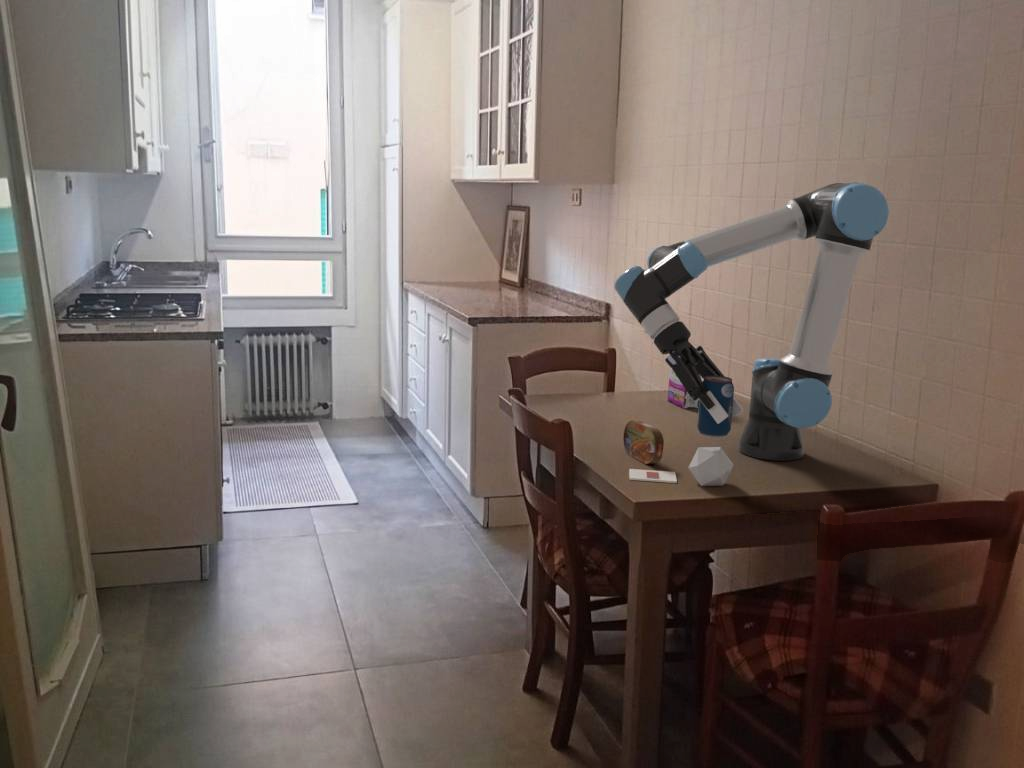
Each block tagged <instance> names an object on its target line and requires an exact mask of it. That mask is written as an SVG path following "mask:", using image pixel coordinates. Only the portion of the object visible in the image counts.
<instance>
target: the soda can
mask: <svg viewBox="0 0 1024 768" xmlns="http://www.w3.org/2000/svg"><path fill="white" fill-rule="evenodd" d="M724 376H725V375H724ZM724 376H705V377H704V379H703V381H702V382H703V384H704V386H705V388H706V390H707V392H708V391H711V393H712V394H713V396H714V397H715V398H716V400H717V401H718V402H719V404H720V405H721V406H722V408H723V409H724V410H725V412H726V413H727V414H728V417H727V418H726V419H724V420H723V421H722V422H721V423H719V424H717V422H716V421H715V420H714V418H713V417H712V416H711V414H710V413H709V411H708V410H707V409H706V407H705V406H704V405H703V403H702V402H701V401H700V399H699V408H698V413H697V422H696V423H697V424H696V427H697V430H698V431H699V434H701V435H702V436H706V437H709V438H710V437H711V438H724V437H726V436H728V434H729V433H730V432H731V429H732V428H731V427H732V419H733V417H732V408H733V397H734V398H735V395H734V394H735V385H734V383H733V379H732V378H731V377H727V376H725V377H724ZM707 392H706V393H707Z"/></svg>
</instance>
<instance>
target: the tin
mask: <svg viewBox="0 0 1024 768" xmlns="http://www.w3.org/2000/svg"><path fill="white" fill-rule="evenodd" d="M622 438H623V447H624V449H625V452H626V454H627V455H628V456H630V457H631V458H633V459H635V460H636V461H639V462H641V463H642V464H644V465H649V464H650V465H653V464H654V465H655V464H657V463H659V462H661V459H662V458H663V452H664V445H665V441H664V437H663V434H662V432H661V430H660V429H658V428H657V427H654V426H652V425H650V424H648V423H646V422H644V421H642V420H641V421H640V420H629V421H628V422H627V423H626V425H625V427H624V430H623V437H622Z"/></svg>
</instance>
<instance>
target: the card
mask: <svg viewBox="0 0 1024 768" xmlns="http://www.w3.org/2000/svg"><path fill="white" fill-rule="evenodd" d="M628 475H629V477H628V478H629V479H628V480H629V481H640V482H653V483H654V482H657V483H670V484H678V483H677V482H678V480H677V475H676V471H668V470H667V471H666V470H655V469H654V470H652V469H639V468H638V469H636V468H629V473H628Z"/></svg>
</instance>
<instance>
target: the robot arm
mask: <svg viewBox="0 0 1024 768" xmlns="http://www.w3.org/2000/svg"><path fill="white" fill-rule="evenodd" d="M888 219H889V204H888V201H887V200H886V198H885V196H884V194H883V193H882V192H881V191H880V190H879V189H878V188H876V187H874V186H872V185H871V184H868V183H862V182H848V183H847V182H846V183H843V182H835V183H831V184H827V185H824V186H823V187H820V188H816V189H815V190H813V191H811V192H808V193H806V194H803V195H801V196H797V197H795V198H791V199H789V200H788V201H787V204H786V205H785V206H781V207H780V208H777V209H774V210H772V211H768V212H765V213H762V214H759V215H756V216H754V217H753V216H752V217H750V218H747V219H743V220H742V221H738V222H735V223H733V224H729V225H727V226H723V227H721V228H717V229H714V230H712V231H709V232H705V233H703V234H699V235H697V236H694V237H691V238H688V239H685V240H683V241H679V242H676V243H673V244H670V245H661V246H658V247H656V248H654V249H653V250H652V251H651V252H650V253H649V255H648V257H647V261H646V262H647V265H646V266H647V269H646V270H645V269H643V267H642V266H639V265H635V266H632V267H631V268H628V269H626V270H625V271H623V273H621V275H619V276H618V278H617V279H616V280H615V283H614V289H615V291H616V292H617V294H618V295H619V297H620V299H621V300H622V301H623V304H624V305H625V306H626V307H627V308H628V310H629V312H631V314H632V315H633V317H635V319H636V320H637V322H638V323H639V324H640V326H641V327H642V329H643V331H644V333H645V334H646V335H647V336H648V337H650V339H651V340H653V344H654V345H655V347H656V348H657V349H658V350H659V352H660V354H661V355H667V354H669V355H668V356H667V357H666V358H664V360H665V362H666V364H667V365H668V367H669V368H670V367H671V368H672V369H673V371H674V372H675V374H676V375H677V377H678V378H679V380H680V382H681V383H682V385H683V386H684V388H685V389H686V391H687V392H688V394H689V395H690V396H691V397H693V396H694V397H693V400H697V399H698V398H699V399H700V401H701V402H702V403H703V405H704V406H705V407H706V409H707V410H708V411H709V413H710V414H711V416H712V417H713V418H714V420H715V421H716V422H717V424H719V423H721V422H722V421H723V420H724V419H726V418H727V417H728V414H727V413H726V412H725V410H724V409H723V408H722V406H721V405H720V404H719V402H718V401H717V400H716V398H715V397H714V396H713V394H712V393H711V391H708V392H707V390H706V388H705V386H704V384H703V381H702V379H703V380H704V377H705V376H724V377H726V376H725V375H724V374H723V373H722V371H721V369H720V368H718V366H717V365H716V364H715V363H714V361H712V360H711V358H710V356H708V354H707V353H706V351H705V350H704V348H703V346H701V345H698V346H697V347H695V346H694V345H693V344H692V343H691V342H690V341H689V339H690V338H691V335H692V333H691V331H690V330H689V329H688V327H687V326H686V325H685V323H684V322H683V321H680V316H679V314H677V313H676V311H675V310H674V309H673V307H672V306H671V305H670V303H669V302H668V301H667V300H666V299H667V298H669V297H670V296H672V295H673V294H674V293H676V292H677V291H679V290H680V289H681V288H683V287H685V286H686V285H688V284H689V283H690V282H692V281H693V280H695V279H697V278H699V276H700V275H701V274H703V273H704V272H705V271H706V270H707V269H708V267H709V268H710V267H712V266H715V265H718V264H721V263H723V262H727V261H730V260H733V259H737V258H739V257H742V256H744V255H748V254H750V253H753V252H757V251H760V250H764V249H766V248H769V247H772V246H775V245H778V244H781V243H784V242H787V241H791V240H793V239H798V240H800V241H804V240H807V239H810V238H814V237H815V238H814V241H815V243H816V244H817V245H818V253H817V257H816V260H815V264H814V266H813V270H812V271H813V272H812V274H811V277H810V282H809V284H808V288H807V292H806V295H805V298H804V301H803V305H802V309H801V312H800V316H799V319H798V322H797V326H796V328H795V333H794V337H793V340H792V343H791V347H790V350H789V353H788V354H786V355H785V356H783V357H781V358H771V357H770V358H769V357H764V358H763V357H762V358H757V359H756V360H754V362H753V369H752V371H751V375H752V376H751V378H752V379H751V390H750V391H751V392H750V399H749V400H750V402H749V410H748V411H749V413H748V420H747V422H746V425H745V427H744V429H743V431H742V434H741V435H740V438H739V441H738V451H739V452H740V453H742V454H743V455H746V456H749V457H752V458H756V459H761V460H767V461H778V462H779V461H780V462H783V461H784V462H787V461H797V460H800V459H801V458H803V457H804V450H805V446H804V441H803V438H802V437H803V436H802V434H801V433H802V432H801V429H808V428H812V427H814V426H816V425H818V424H820V423H821V422H823V420H825V419H826V417H827V416H828V414H829V413H830V411H831V409H832V404H833V398H832V397H833V396H832V394H831V390H830V389H829V387H830V384H831V381H832V380H831V379H832V377H833V371H832V370H831V367H830V364H829V361H830V358H831V354H832V352H833V349H834V345H835V342H836V338H837V335H838V332H839V329H840V324H841V321H842V318H843V314H844V313H845V308H846V305H847V300H848V298H849V294H850V291H851V288H852V284H853V281H854V278H855V274H856V271H857V268H858V264H859V260H860V259H861V257H864V256H865V255H866V254H868V253H870V251H871V246H872V243H873V240H874V238H875V237H877V236H878V235H879V234H881V232H883V230H884V229H885V227H886V226H887V223H888ZM699 375H700V376H701V378H700V376H699ZM691 389H692V390H691ZM706 392H707V393H706ZM743 408H744V407H742V406H741V405H740V403H739V401H737V399H736V397H735V396H734V397H733V408H732V419H733V418H736V417H737V416H738V415H739V414H741V413H742V412H743V411H744V409H743Z"/></svg>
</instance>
